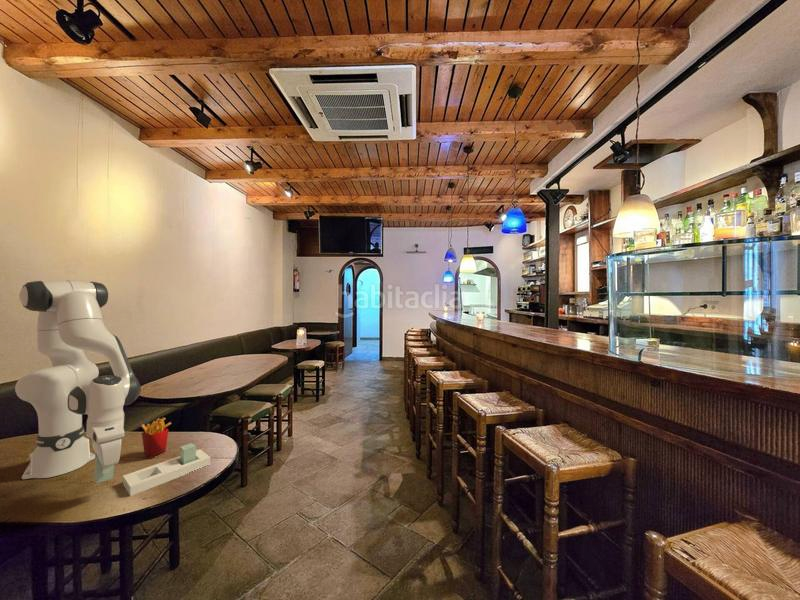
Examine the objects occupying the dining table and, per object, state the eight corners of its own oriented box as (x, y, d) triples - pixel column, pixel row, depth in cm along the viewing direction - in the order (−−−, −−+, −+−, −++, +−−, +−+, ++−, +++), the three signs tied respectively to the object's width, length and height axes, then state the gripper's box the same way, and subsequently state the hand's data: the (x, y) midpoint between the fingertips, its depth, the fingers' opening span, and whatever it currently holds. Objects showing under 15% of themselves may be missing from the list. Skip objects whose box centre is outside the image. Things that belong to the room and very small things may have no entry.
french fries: (140, 456, 126) (140, 420, 125) (162, 447, 133) (162, 413, 133) (154, 461, 122) (154, 423, 122) (176, 451, 130) (176, 416, 130)
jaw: (94, 478, 100) (95, 453, 100) (110, 473, 103) (111, 449, 103) (96, 483, 98) (97, 458, 98) (113, 477, 101) (114, 453, 101)
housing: (122, 484, 108) (122, 461, 108) (200, 456, 127) (200, 437, 127) (130, 496, 102) (130, 471, 101) (210, 464, 121) (210, 444, 120)
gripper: (86, 420, 104) (85, 461, 104) (97, 440, 92) (96, 486, 92) (112, 415, 109) (110, 454, 109) (125, 433, 97) (124, 477, 97)
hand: (104, 469), depth 101 cm, fingers closed on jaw, 4 cm apart
